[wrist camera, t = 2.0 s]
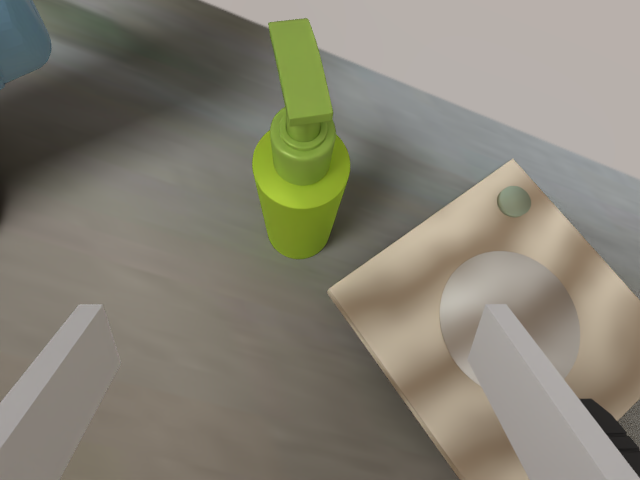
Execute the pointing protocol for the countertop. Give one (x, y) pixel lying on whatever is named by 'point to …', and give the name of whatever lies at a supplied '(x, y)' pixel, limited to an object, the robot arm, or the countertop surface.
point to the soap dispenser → (300, 149)
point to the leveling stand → (467, 307)
